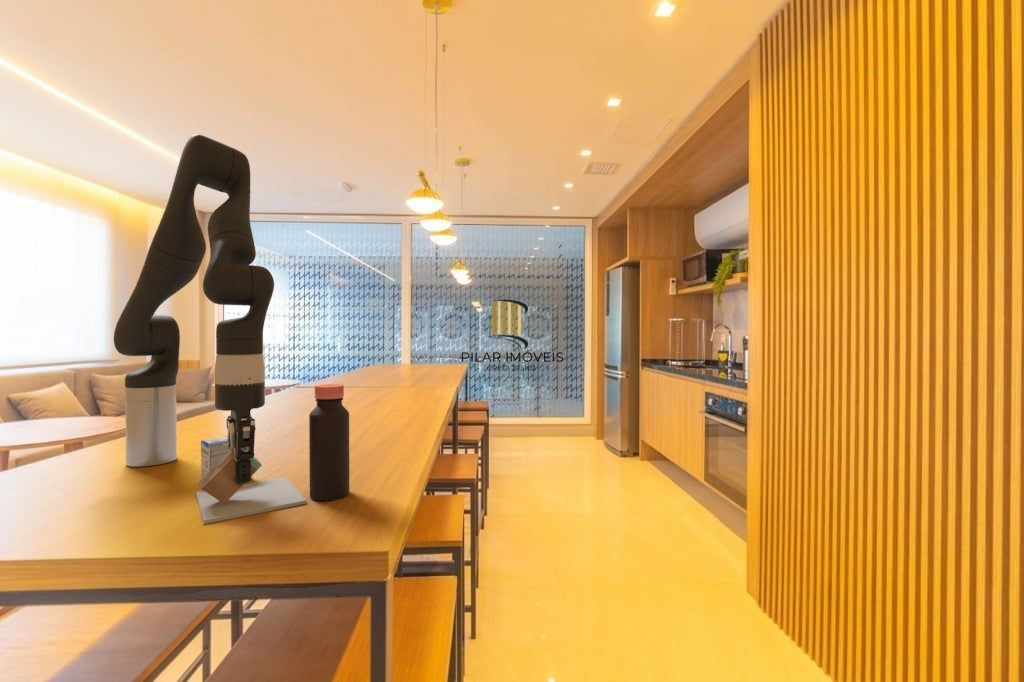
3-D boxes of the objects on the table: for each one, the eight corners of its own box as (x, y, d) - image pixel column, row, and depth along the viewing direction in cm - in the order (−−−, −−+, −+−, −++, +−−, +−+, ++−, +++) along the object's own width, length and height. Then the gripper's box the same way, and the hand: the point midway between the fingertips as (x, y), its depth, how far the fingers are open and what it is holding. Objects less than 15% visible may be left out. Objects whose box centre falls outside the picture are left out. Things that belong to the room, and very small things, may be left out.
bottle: (300, 499, 85) (300, 386, 85) (327, 487, 91) (327, 382, 91) (331, 503, 83) (331, 388, 82) (357, 491, 89) (357, 384, 89)
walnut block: (199, 481, 81) (237, 444, 84) (221, 496, 83) (257, 459, 86) (201, 488, 78) (241, 449, 81) (224, 504, 80) (262, 465, 83)
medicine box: (243, 474, 99) (243, 433, 99) (253, 479, 96) (252, 436, 96) (200, 484, 93) (200, 439, 93) (209, 489, 90) (208, 443, 90)
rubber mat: (196, 495, 87) (196, 492, 87) (286, 480, 96) (286, 477, 96) (203, 524, 74) (203, 520, 74) (306, 503, 83) (306, 500, 83)
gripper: (272, 382, 79) (273, 485, 80) (257, 376, 91) (258, 465, 91) (219, 385, 75) (220, 494, 75) (210, 378, 86) (211, 472, 86)
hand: (241, 478), depth 83 cm, fingers closed on walnut block, 4 cm apart
